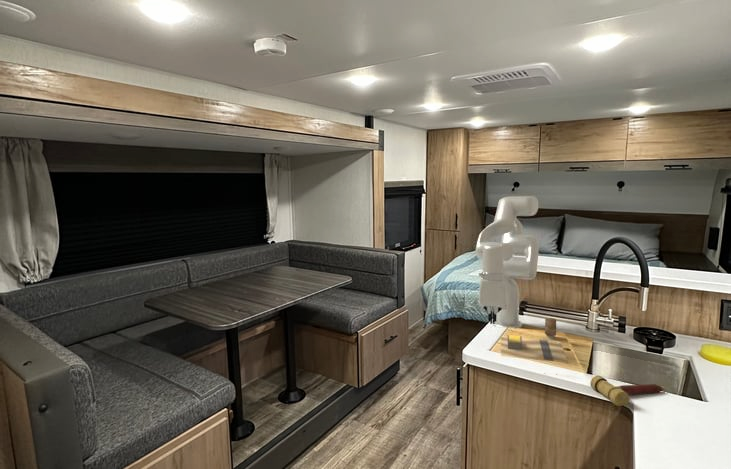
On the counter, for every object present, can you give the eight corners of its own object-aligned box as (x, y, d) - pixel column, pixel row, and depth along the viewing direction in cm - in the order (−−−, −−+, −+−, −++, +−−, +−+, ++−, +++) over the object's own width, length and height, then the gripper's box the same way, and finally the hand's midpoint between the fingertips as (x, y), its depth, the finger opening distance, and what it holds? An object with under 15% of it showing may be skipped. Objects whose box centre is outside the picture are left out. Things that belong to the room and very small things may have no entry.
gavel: (651, 373, 121) (681, 389, 111) (650, 387, 121) (679, 404, 111) (590, 375, 118) (615, 392, 108) (589, 389, 119) (614, 407, 109)
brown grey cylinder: (544, 338, 158) (544, 317, 157) (555, 339, 157) (555, 318, 155) (545, 342, 154) (545, 320, 153) (556, 343, 153) (557, 321, 152)
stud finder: (507, 341, 153) (507, 334, 152) (521, 342, 151) (521, 335, 151) (507, 348, 146) (507, 341, 146) (522, 350, 144) (522, 342, 144)
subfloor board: (500, 339, 158) (500, 336, 158) (559, 345, 151) (559, 341, 151) (501, 359, 140) (501, 355, 140) (568, 366, 133) (568, 362, 133)
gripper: (472, 277, 147) (471, 324, 148) (514, 279, 142) (513, 327, 143) (473, 273, 154) (473, 318, 155) (513, 275, 149) (512, 321, 150)
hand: (492, 322), depth 149 cm, fingers closed
